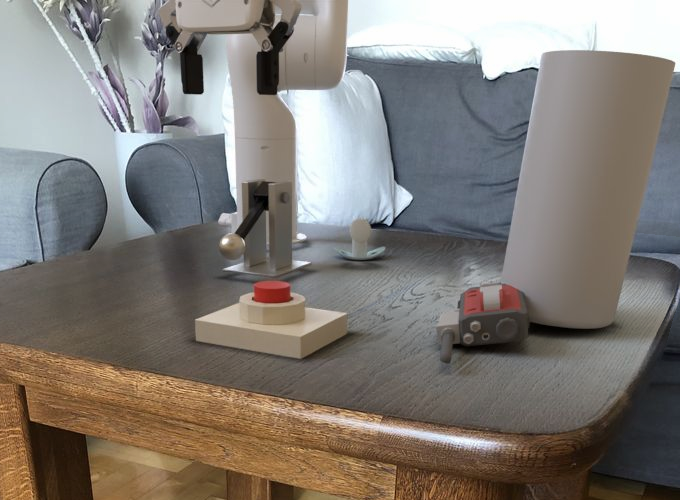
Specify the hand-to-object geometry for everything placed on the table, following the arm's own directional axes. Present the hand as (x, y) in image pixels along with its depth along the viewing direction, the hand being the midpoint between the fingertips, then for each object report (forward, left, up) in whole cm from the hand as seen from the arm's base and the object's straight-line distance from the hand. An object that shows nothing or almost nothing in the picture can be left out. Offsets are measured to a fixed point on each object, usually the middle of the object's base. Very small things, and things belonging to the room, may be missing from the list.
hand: (229, 94), depth 90 cm
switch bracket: (-3, +12, -22) cm, 25 cm away
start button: (+13, -14, -18) cm, 26 cm away
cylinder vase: (+37, +7, -22) cm, 43 cm away
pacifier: (+5, +24, -22) cm, 33 cm away
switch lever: (-3, +9, -16) cm, 18 cm away
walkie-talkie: (+33, -6, -21) cm, 40 cm away
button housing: (+13, -14, -22) cm, 29 cm away
